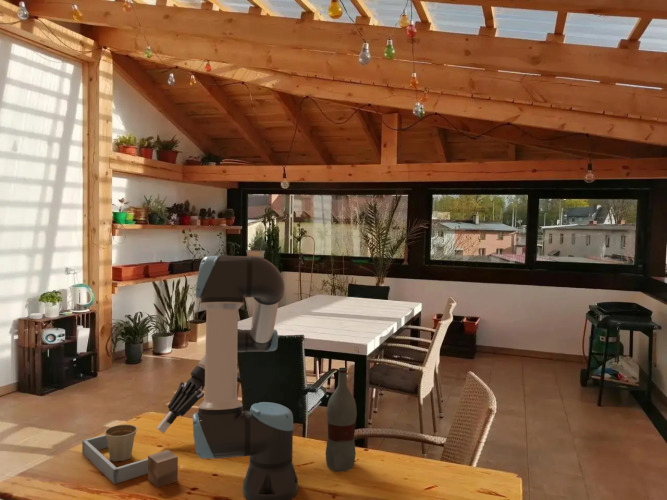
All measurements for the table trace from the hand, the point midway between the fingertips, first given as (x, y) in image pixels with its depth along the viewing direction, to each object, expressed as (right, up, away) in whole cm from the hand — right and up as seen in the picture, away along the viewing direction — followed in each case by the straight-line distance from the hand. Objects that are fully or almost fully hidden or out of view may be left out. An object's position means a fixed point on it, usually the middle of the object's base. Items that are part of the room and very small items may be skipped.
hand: (160, 430), depth 168 cm
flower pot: (-9, -5, -9) cm, 14 cm away
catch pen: (-8, -5, -11) cm, 14 cm away
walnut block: (+8, -6, -23) cm, 25 cm away
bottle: (+59, -7, -11) cm, 60 cm away
